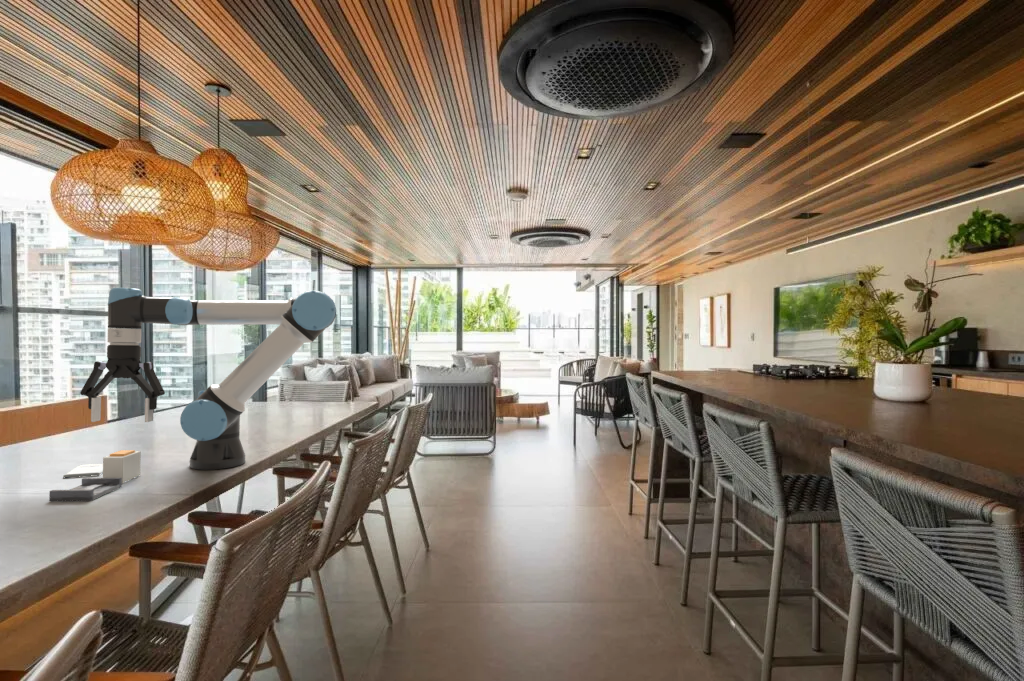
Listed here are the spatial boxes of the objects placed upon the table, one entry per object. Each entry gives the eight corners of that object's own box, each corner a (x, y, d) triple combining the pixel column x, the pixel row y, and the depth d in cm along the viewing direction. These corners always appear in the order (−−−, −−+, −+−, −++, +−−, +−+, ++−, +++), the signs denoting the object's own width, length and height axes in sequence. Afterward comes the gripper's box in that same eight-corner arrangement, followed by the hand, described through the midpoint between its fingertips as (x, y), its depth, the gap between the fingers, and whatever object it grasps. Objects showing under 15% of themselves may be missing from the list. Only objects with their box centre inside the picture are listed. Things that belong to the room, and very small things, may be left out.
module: (140, 475, 150) (140, 449, 150) (122, 483, 142) (123, 455, 142) (121, 476, 149) (121, 449, 149) (102, 483, 142) (103, 455, 142)
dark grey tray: (121, 487, 138) (121, 477, 138) (90, 501, 126) (90, 490, 126) (84, 487, 137) (84, 477, 137) (49, 501, 125) (49, 491, 125)
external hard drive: (63, 480, 146) (78, 469, 157) (99, 478, 149) (112, 467, 160) (63, 474, 146) (79, 464, 157) (99, 472, 149) (112, 462, 160)
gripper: (65, 343, 141) (63, 423, 141) (165, 345, 143) (163, 423, 143) (84, 343, 148) (82, 418, 148) (179, 345, 151) (177, 419, 151)
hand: (122, 421), depth 146 cm, fingers open, 13 cm apart
